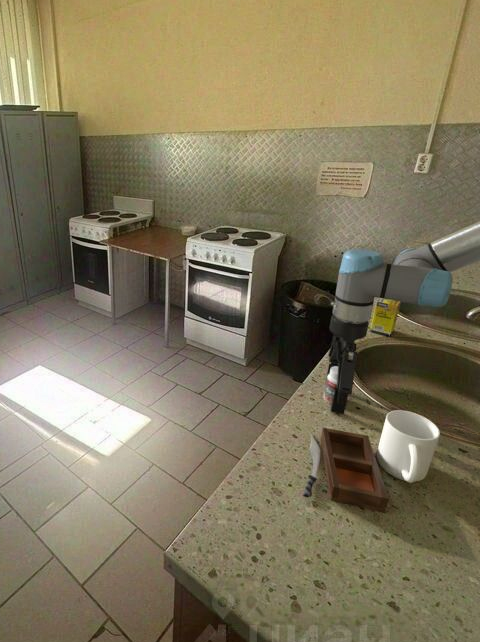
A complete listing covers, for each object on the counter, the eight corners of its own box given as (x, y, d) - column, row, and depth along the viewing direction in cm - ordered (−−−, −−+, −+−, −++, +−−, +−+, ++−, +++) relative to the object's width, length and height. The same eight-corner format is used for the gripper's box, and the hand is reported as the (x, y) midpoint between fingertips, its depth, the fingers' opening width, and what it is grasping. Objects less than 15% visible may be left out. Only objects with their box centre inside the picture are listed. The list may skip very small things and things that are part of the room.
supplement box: (390, 337, 126) (398, 305, 122) (369, 331, 130) (376, 301, 126) (394, 330, 130) (401, 300, 126) (373, 325, 134) (380, 295, 130)
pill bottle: (321, 401, 97) (327, 372, 94) (324, 391, 101) (330, 363, 98) (343, 407, 94) (349, 378, 91) (345, 397, 98) (352, 368, 95)
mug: (435, 505, 69) (451, 460, 66) (379, 489, 73) (392, 445, 69) (421, 458, 79) (434, 416, 76) (373, 446, 83) (383, 405, 79)
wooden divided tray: (365, 448, 82) (368, 435, 81) (385, 513, 68) (389, 499, 67) (320, 439, 85) (322, 427, 84) (330, 500, 71) (333, 486, 70)
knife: (316, 503, 70) (317, 499, 70) (301, 498, 71) (302, 494, 71) (321, 435, 86) (322, 431, 86) (309, 431, 87) (309, 428, 87)
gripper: (325, 297, 101) (312, 372, 109) (339, 337, 81) (322, 425, 89) (358, 300, 98) (343, 376, 106) (381, 342, 78) (360, 432, 86)
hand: (333, 398), depth 97 cm, fingers open, 10 cm apart
